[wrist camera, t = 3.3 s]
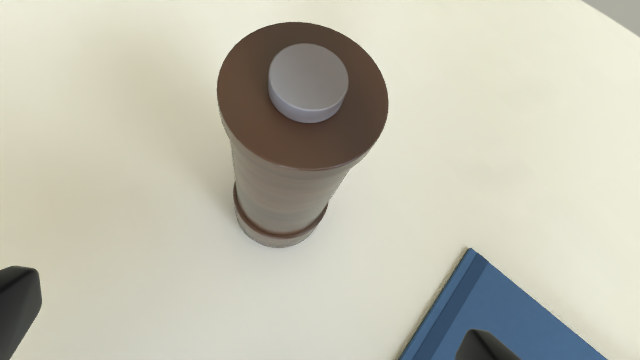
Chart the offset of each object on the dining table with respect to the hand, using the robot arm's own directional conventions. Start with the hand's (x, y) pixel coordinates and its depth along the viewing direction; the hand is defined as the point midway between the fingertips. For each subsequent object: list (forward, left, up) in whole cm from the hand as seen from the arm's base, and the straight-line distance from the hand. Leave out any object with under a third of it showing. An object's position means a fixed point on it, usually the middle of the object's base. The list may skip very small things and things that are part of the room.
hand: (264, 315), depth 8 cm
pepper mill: (+5, +3, -12) cm, 14 cm away
